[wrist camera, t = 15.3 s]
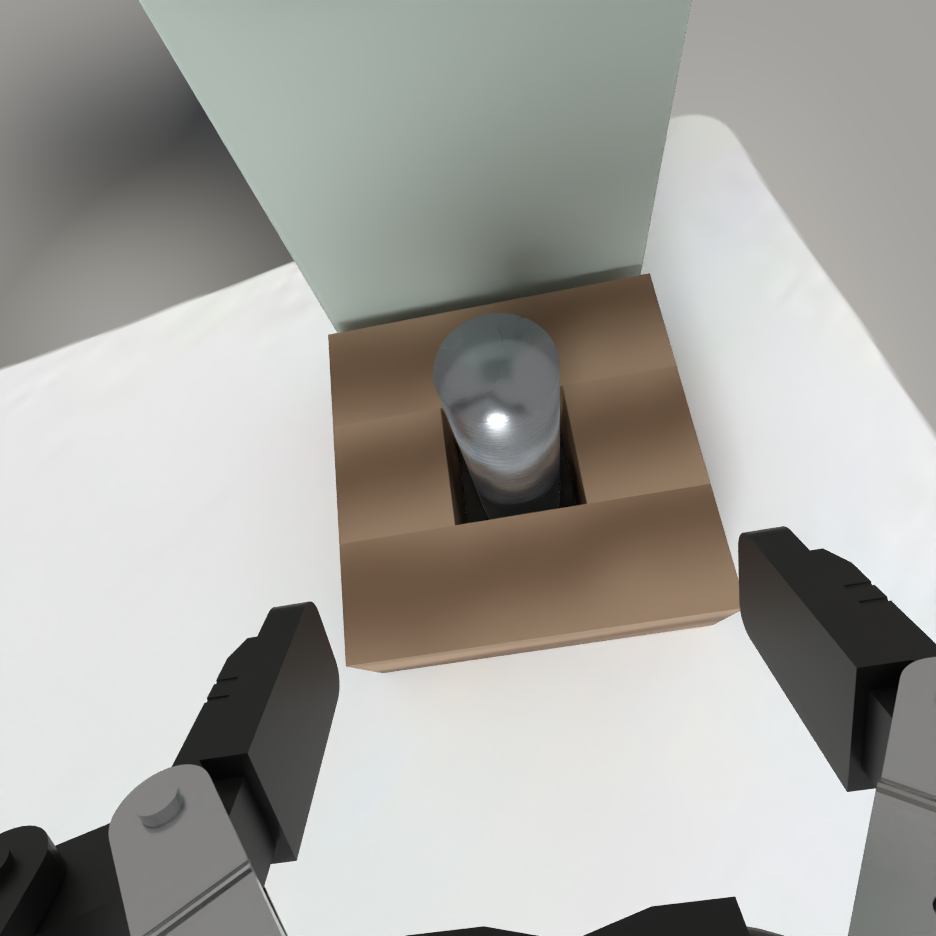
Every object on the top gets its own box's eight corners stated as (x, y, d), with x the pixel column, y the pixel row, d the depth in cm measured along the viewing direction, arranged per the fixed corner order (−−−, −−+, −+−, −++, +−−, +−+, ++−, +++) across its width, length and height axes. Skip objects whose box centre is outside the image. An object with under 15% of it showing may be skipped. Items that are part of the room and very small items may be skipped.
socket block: (712, 624, 26) (746, 607, 21) (382, 673, 27) (346, 666, 22) (636, 337, 31) (649, 273, 26) (361, 388, 32) (328, 334, 27)
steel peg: (520, 549, 28) (493, 450, 17) (466, 495, 29) (407, 369, 18) (576, 495, 29) (586, 364, 17) (521, 444, 30) (497, 291, 19)
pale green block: (676, 489, 28) (1260, -593, 5) (372, 538, 29) (-383, -132, 6) (622, 288, 32) (792, -830, 9) (358, 338, 33) (-122, -531, 10)
